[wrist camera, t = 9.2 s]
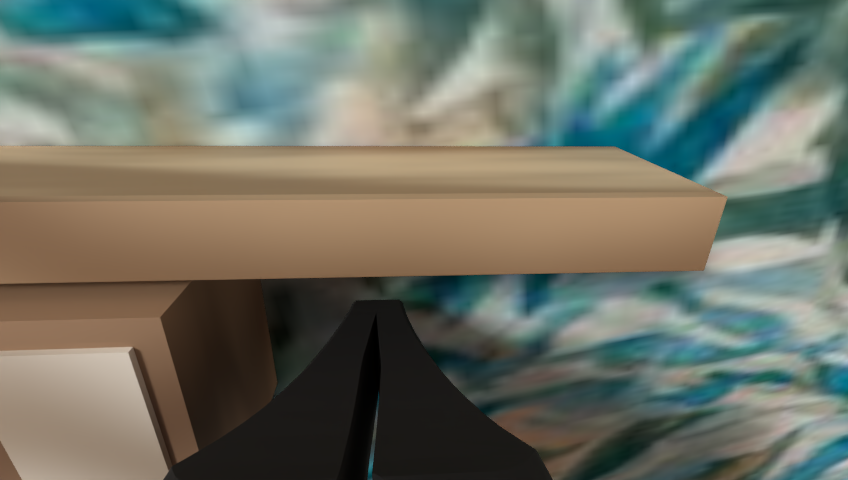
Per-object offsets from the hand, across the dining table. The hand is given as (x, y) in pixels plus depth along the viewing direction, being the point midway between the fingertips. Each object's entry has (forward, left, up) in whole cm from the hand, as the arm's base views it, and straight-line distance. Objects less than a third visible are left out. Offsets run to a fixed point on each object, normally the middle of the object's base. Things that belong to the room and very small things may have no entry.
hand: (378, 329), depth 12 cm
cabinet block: (0, +5, -1) cm, 6 cm away
